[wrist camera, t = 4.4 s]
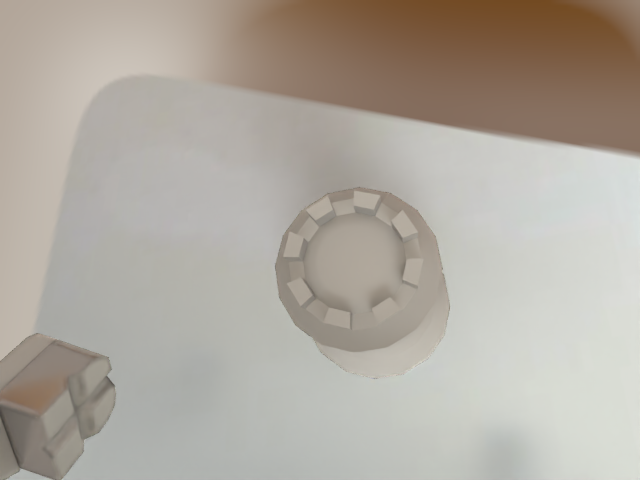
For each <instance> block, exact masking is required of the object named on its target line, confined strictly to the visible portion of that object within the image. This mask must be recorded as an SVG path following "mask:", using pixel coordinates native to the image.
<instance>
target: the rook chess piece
mask: <svg viewBox="0 0 640 480" xmlns="http://www.w3.org/2000/svg"><path fill="white" fill-rule="evenodd" d="M275 269H276V276H277V284H278V291H279V298H280V299H281V301H282V303H283V305H284V306H285V308H286V310H287V311H288V313H289V315H290V317H291V318H292V320H293V322H294V323H295V325H296V326H297V327H299V328H300V329H301V330H303V331H304V332H305V333H307V334H308V335H309V336H311V337H312V338H313V340H314V341H315V343H316V345H317V347H318V348H319V350H320V352H321V353H323V354H324V355H325V356H326V357H327V358H329V359H330V360H331V361H333V362H334V363H335V364H337V365H338V366H339V367H341V368H342V369H343V370H345V371H346V372H349V373H353V374H357V375H361V376H365V377H369V378H373V379H377V378H383V377H389V376H396V375H402V374H405V373H406V372H408V371H409V370H411V369H413V368H414V367H416V366H417V365H419V364H421V363H422V362H424V361H425V360H427V359H428V358H429V357H430V355H431V354H432V352H433V351H434V349H435V348H436V346H437V345H438V344H439V342H440V341H441V339H442V338H443V336H444V335H445V330H446V325H447V320H448V314H449V309H450V302H449V297H448V292H447V288H446V283H445V278H444V274H443V273H442V269H443V268H442V264H441V259H440V254H439V250H438V245H437V240H436V236H435V235H434V233H433V232H432V230H431V229H430V228H429V226H428V225H427V223H426V222H425V221H424V219H423V218H422V216H421V215H420V213H419V212H418V211H417V210H416V209H415V208H413V207H412V206H410V205H408V204H407V203H405V202H404V201H402V200H400V199H399V198H397V197H396V196H394V195H393V194H391V193H387V192H382V191H376V190H371V189H365V188H360V187H358V188H353V189H348V190H343V191H338V192H333V193H328V194H326V195H325V196H323V197H322V198H320V199H319V200H317V201H315V202H314V203H312V204H311V205H309V206H308V207H306V208H304V209H303V210H301V212H300V213H299V214H298V216H297V217H296V219H295V220H294V221H293V223H292V224H291V225H290V227H289V228H288V230H287V231H286V232H285V234H284V235H283V238H282V241H281V245H280V249H279V253H278V257H277V261H276V265H275Z"/></svg>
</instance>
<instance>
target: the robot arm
mask: <svg viewBox="0 0 640 480" xmlns="http://www.w3.org/2000/svg"><path fill="white" fill-rule="evenodd" d="M111 370H112V369H111V364H110V360H109V357H107V356H104V355H101V354H98V353H95V352H92V351H89V350H87V349H84V348H81V347H78V346H75V345H72V344H69V343H66V342H63V341H61V340H57V339H54V338H51V337H48V336H45V335H42V334H39V333H36V334H34V335H31V336H29V337H27V338H26V339H25V340H24V341H22V342H21V343H20V344H19V345H18V346H17V347H16V348H15V349H14V350H12V351H11V352H10V353H9V354H8V355H7V356H6V357H5V358H3V359H2V360H1V361H0V480H5V479H7V478H9V477H10V476H12V475H14V474H16V473H17V472H19V471H20V469H19V468H21V469H24V470H27V471H30V472H33V473H36V474H39V475H42V476H45V477H48V478H51V479H53V480H62V478H63V477H64V476H65V475H66V473H67V472H68V471H69V470H70V468H71V467H72V466H73V465H74V463H75V462H76V461H77V460H78V458H79V457H80V456H81V454H82V453H83V452H84V440H85V439H87V438H89V437H91V436H93V435H95V434H97V433H99V432H100V430H101V429H102V428H103V426H104V425H105V424H106V422H107V421H108V419H109V417H110V415H111V413H112V410H113V408H114V406H115V399H116V391H115V385H114V384H113V383H112V382H111V380H110V379H109V378H108V377H107V374H108V373H109V372H110V371H111Z"/></svg>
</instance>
